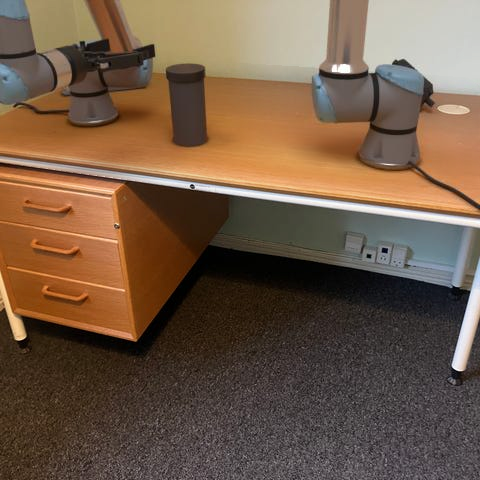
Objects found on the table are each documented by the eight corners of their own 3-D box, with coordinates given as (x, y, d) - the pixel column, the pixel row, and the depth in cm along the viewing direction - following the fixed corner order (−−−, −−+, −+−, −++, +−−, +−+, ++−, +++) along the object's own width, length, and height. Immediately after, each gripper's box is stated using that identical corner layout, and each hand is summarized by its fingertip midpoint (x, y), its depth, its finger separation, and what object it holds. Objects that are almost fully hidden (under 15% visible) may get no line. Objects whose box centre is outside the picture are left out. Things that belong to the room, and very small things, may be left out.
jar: (213, 137, 154) (210, 67, 144) (194, 148, 147) (189, 76, 137) (186, 132, 159) (181, 63, 148) (166, 142, 152) (160, 72, 141)
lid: (213, 74, 145) (212, 66, 144) (190, 84, 137) (190, 75, 136) (181, 70, 150) (181, 61, 148) (158, 79, 142) (157, 70, 141)
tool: (374, 89, 181) (400, 53, 170) (416, 126, 177) (445, 91, 166) (365, 93, 177) (391, 56, 166) (408, 131, 173) (438, 96, 162)
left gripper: (23, 79, 115) (93, 58, 130) (109, 94, 104) (175, 70, 119) (14, 42, 111) (88, 25, 126) (103, 55, 100) (172, 34, 115)
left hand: (130, 47), depth 123 cm, fingers open, 13 cm apart
